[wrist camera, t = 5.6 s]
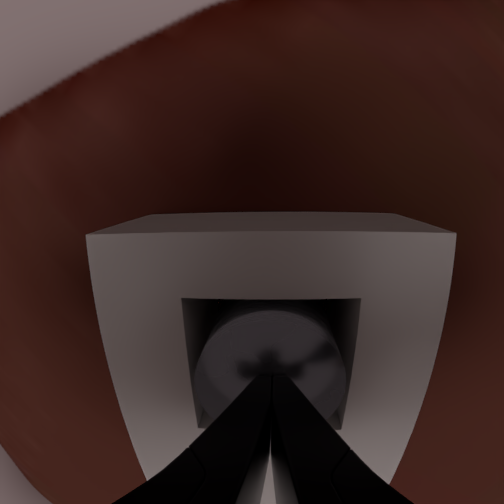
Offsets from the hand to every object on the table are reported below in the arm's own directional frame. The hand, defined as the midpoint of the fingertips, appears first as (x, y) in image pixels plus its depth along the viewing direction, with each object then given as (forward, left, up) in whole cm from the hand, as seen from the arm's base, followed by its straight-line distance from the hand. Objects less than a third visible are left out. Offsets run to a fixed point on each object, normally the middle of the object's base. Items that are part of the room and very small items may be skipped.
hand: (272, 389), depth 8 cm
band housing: (+4, +6, -6) cm, 9 cm away
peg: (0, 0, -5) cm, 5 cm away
